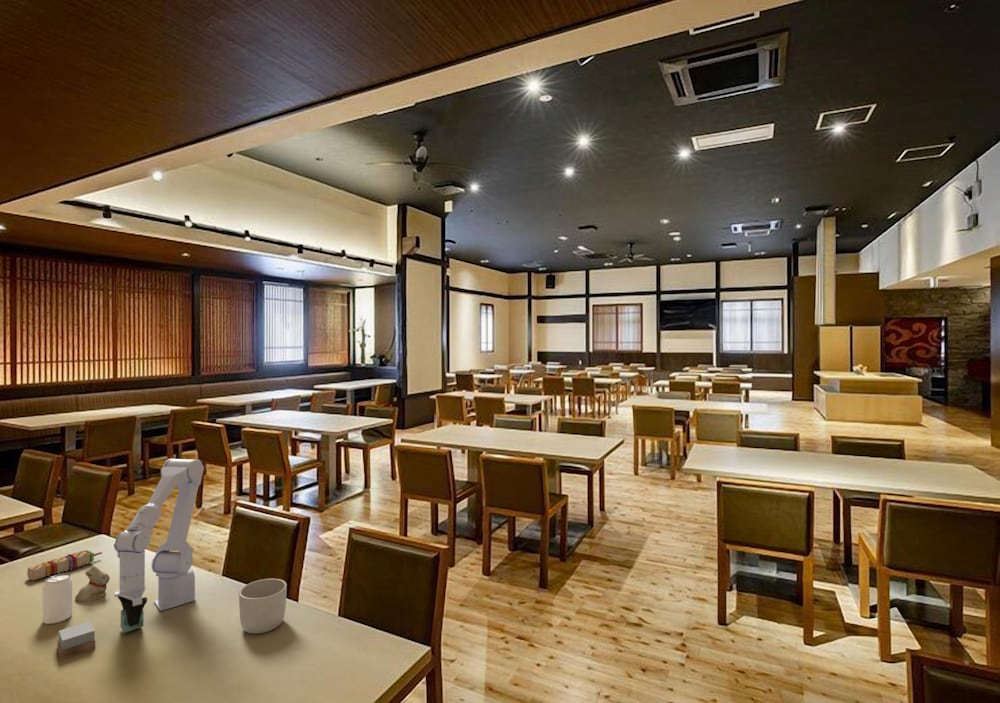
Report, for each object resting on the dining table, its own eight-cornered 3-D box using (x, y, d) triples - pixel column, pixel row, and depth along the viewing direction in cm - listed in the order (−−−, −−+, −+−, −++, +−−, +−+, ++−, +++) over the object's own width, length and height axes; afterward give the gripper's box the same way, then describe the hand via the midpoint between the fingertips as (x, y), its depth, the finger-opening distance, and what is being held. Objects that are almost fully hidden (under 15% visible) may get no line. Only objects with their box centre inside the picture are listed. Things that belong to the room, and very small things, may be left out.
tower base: (91, 639, 138) (91, 630, 138) (95, 649, 134) (95, 640, 134) (57, 649, 133) (57, 640, 133) (60, 661, 129) (60, 651, 129)
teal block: (139, 620, 145) (140, 604, 145) (143, 626, 142) (143, 610, 142) (120, 626, 142) (120, 610, 142) (123, 632, 139) (123, 616, 139)
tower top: (90, 630, 138) (90, 621, 138) (94, 640, 134) (94, 630, 134) (58, 640, 134) (58, 630, 134) (62, 650, 129) (62, 640, 129)
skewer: (34, 583, 169) (34, 569, 169) (25, 579, 172) (25, 564, 172) (106, 561, 187) (106, 547, 187) (97, 557, 190) (97, 544, 190)
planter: (293, 625, 146) (294, 588, 146) (248, 643, 137) (249, 603, 136) (275, 610, 154) (275, 574, 154) (231, 626, 145) (232, 588, 145)
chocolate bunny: (97, 601, 157) (97, 569, 157) (72, 601, 158) (72, 569, 157) (111, 593, 163) (111, 562, 163) (87, 592, 163) (87, 561, 163)
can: (54, 626, 144) (55, 584, 144) (36, 623, 145) (36, 581, 145) (77, 614, 150) (78, 574, 150) (60, 611, 151) (60, 571, 151)
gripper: (109, 569, 144) (109, 616, 144) (119, 586, 134) (119, 637, 134) (139, 561, 149) (139, 607, 149) (151, 578, 139) (151, 627, 139)
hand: (132, 621), depth 142 cm, fingers closed on teal block, 4 cm apart
